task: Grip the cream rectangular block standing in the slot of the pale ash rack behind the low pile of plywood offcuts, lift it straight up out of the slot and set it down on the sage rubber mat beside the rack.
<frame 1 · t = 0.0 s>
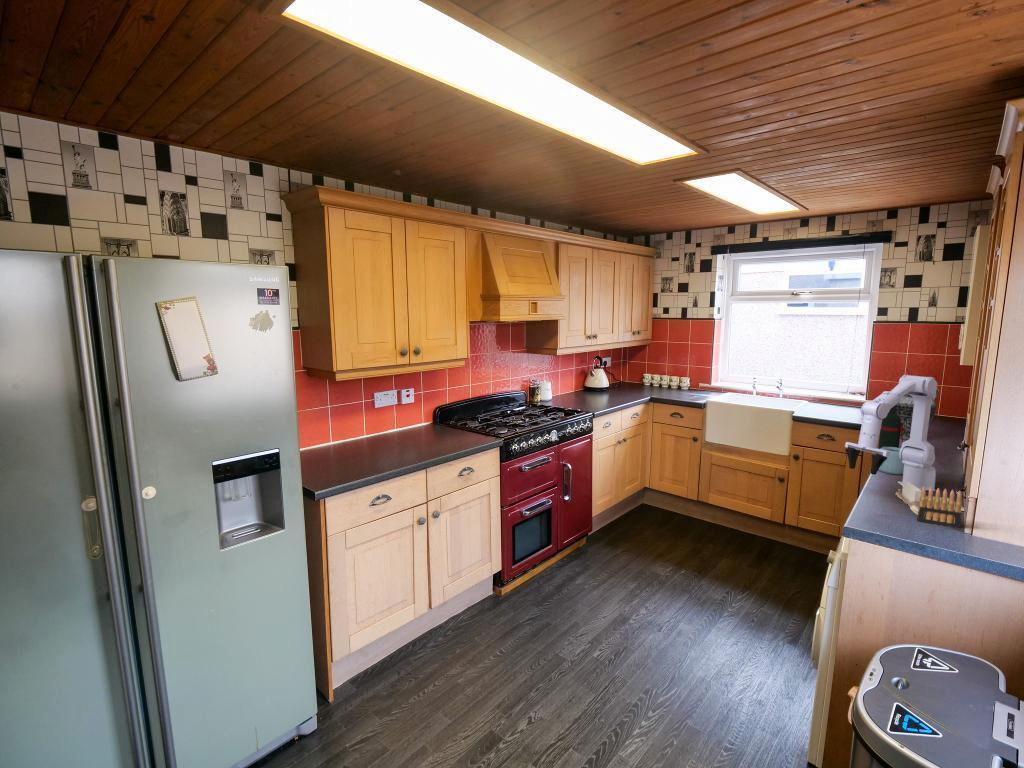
hand: (862, 471, 186), 11 cm above the countertop, tool pointing down, fingers open, 7 cm apart
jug: (910, 438, 274), on the countertop
sage mat: (940, 504, 181), on the countertop
wine bottle: (890, 456, 242), on the countertop
mug: (889, 470, 220), on the countertop
ammunition clip: (938, 524, 165), on the countertop
cream rectangular block: (910, 502, 184), resting in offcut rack
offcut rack: (910, 502, 184), on the countertop
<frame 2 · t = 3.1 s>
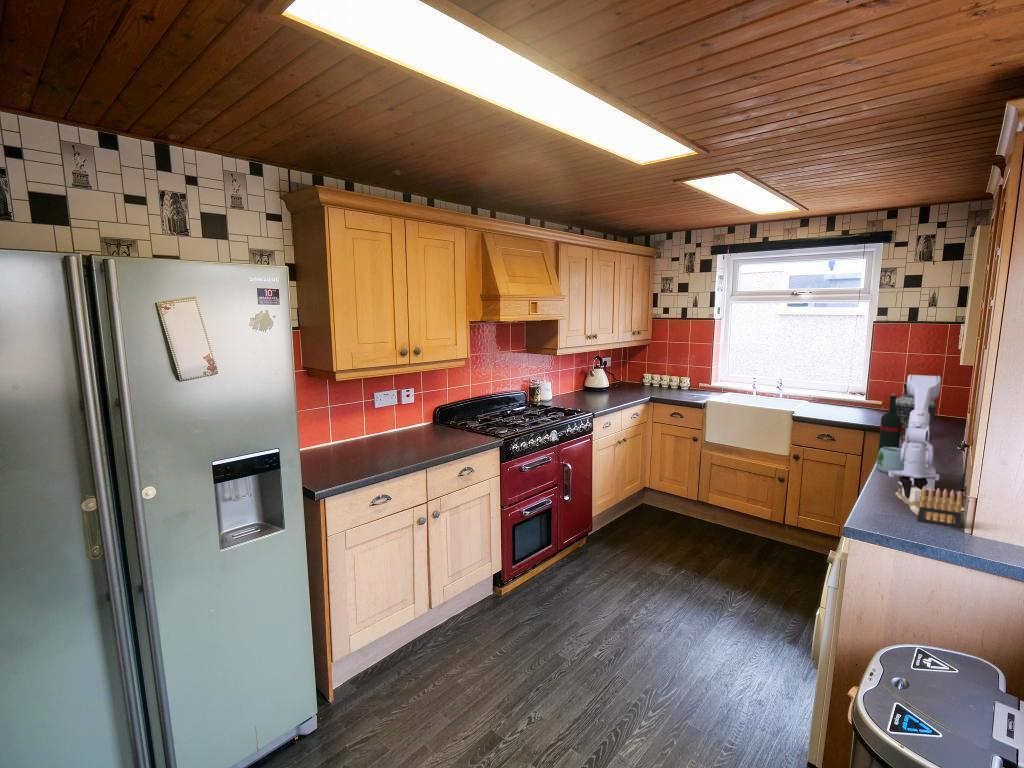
hand: (911, 497, 184), 2 cm above the countertop, tool pointing down, fingers closed on cream rectangular block, 2 cm apart
cream rectangular block: (910, 502, 184), resting in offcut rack, touching gripper
everything else where it was.
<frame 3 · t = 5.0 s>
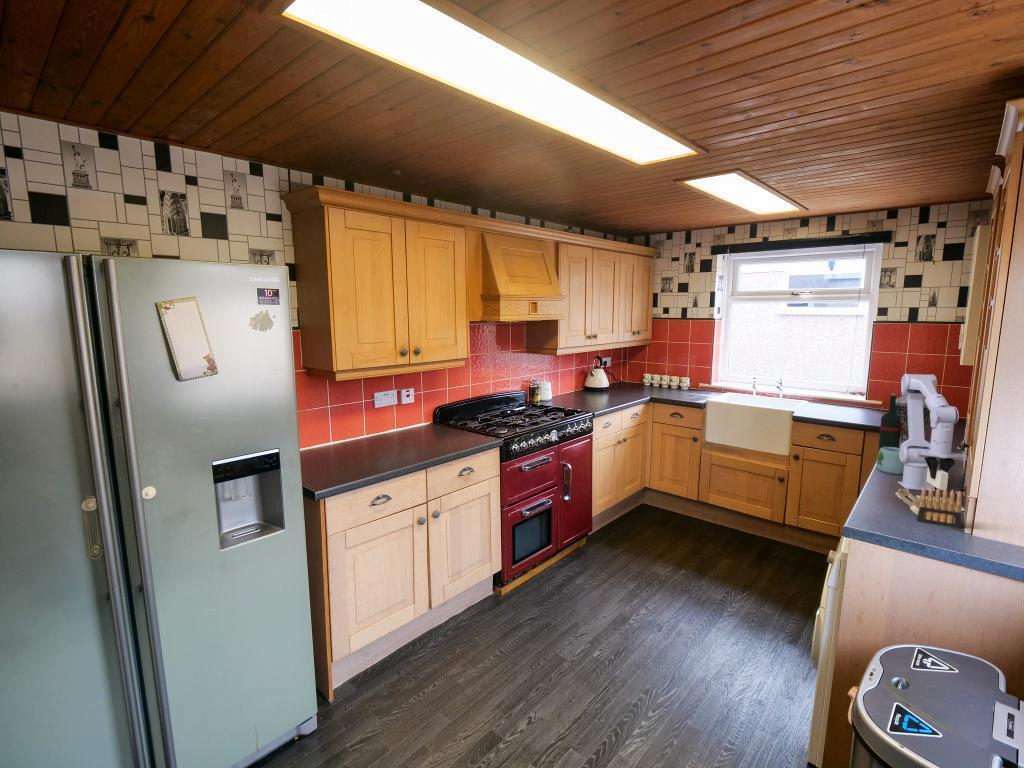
hand: (937, 478, 180), 9 cm above the countertop, tool pointing down, fingers closed on cream rectangular block
cream rectangular block: (936, 485, 181), point 7 cm above the countertop, touching gripper
everything else where it was.
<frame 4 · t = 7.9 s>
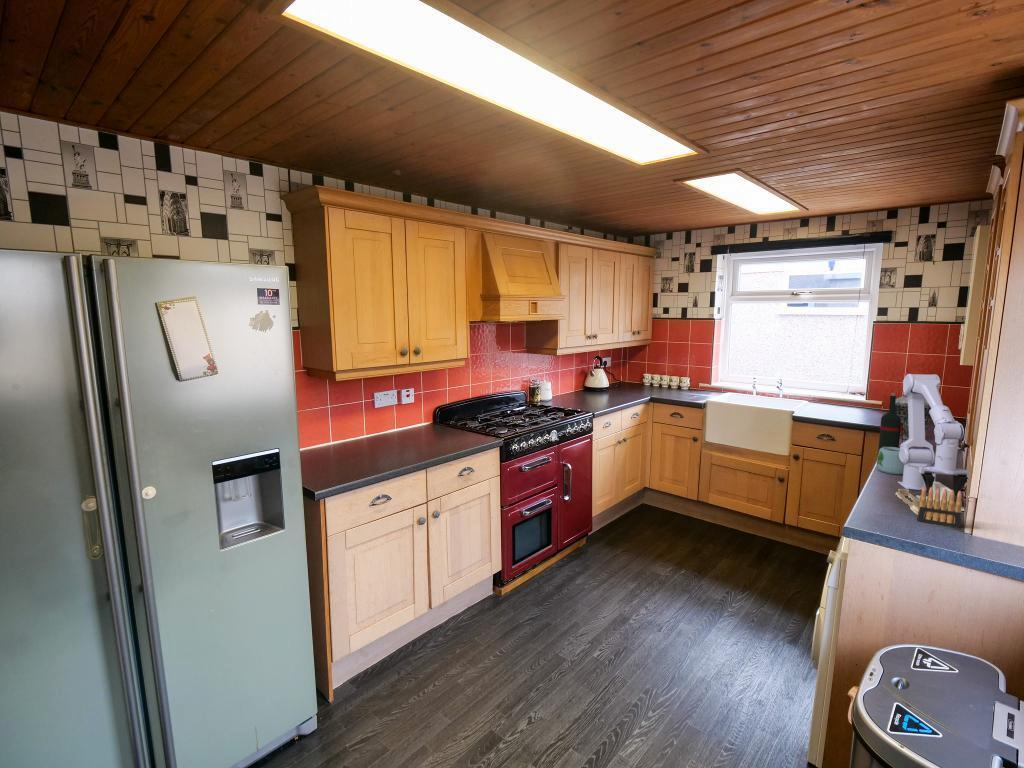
hand: (942, 494, 181), 4 cm above the countertop, tool pointing down, fingers open, 7 cm apart
cream rectangular block: (940, 502, 181), point 1 cm above the countertop, touching sage mat
everything else where it was.
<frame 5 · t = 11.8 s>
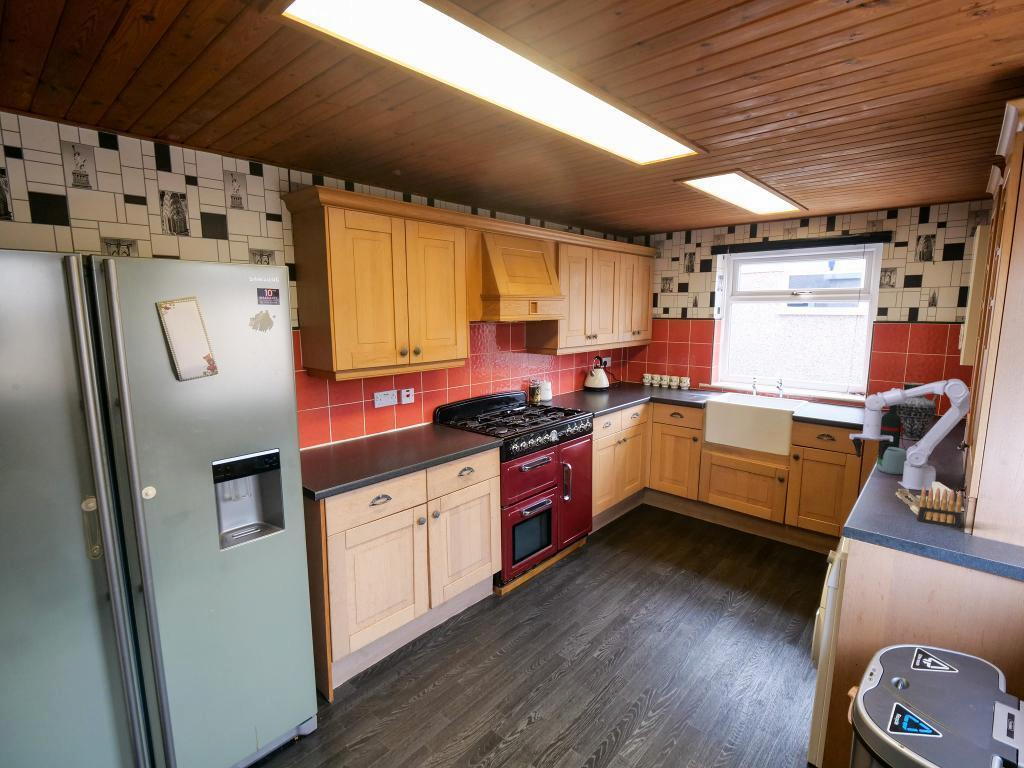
hand: (869, 457, 207), 9 cm above the countertop, tool pointing down, fingers open, 7 cm apart
nothing on the countertop moved.
at the end: cream rectangular block inside the target area (0.6 cm from its centre), point 0.6 cm above the countertop; the gripper is holding nothing; cream rectangular block moved 9.0 cm from its start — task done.
